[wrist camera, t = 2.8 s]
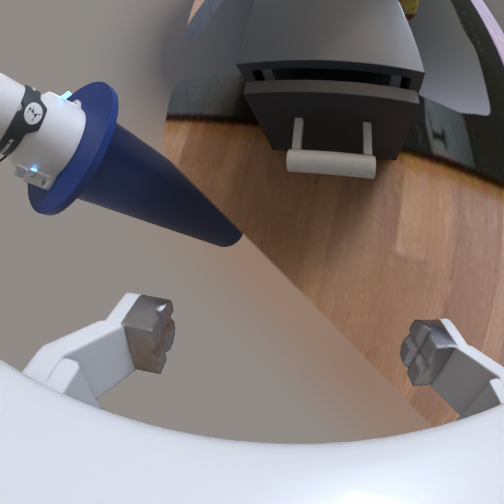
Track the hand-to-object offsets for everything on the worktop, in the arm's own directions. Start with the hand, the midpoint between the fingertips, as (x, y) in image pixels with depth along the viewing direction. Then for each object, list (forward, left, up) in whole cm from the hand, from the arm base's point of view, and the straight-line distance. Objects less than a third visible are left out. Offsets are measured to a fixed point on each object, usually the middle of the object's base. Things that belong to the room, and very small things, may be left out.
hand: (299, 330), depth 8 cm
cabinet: (0, +23, -15) cm, 27 cm away
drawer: (0, +18, -14) cm, 23 cm away
